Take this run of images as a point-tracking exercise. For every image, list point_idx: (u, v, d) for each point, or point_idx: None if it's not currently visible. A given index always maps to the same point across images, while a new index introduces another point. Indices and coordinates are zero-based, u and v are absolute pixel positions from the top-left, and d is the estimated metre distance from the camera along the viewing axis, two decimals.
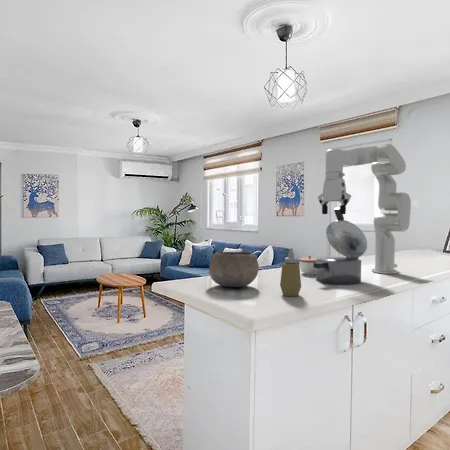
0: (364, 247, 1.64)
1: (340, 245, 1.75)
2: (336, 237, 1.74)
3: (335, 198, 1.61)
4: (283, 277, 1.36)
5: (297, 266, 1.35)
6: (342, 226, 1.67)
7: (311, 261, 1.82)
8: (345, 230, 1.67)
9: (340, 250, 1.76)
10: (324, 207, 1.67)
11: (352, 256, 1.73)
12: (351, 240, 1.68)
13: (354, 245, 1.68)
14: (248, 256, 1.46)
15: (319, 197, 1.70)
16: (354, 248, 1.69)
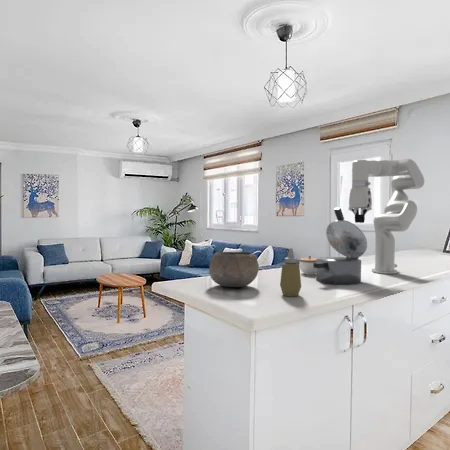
0: (364, 247, 1.64)
1: (340, 245, 1.75)
2: (336, 237, 1.74)
3: (361, 205, 1.74)
4: (283, 277, 1.36)
5: (297, 266, 1.35)
6: (342, 226, 1.67)
7: (311, 261, 1.82)
8: (345, 230, 1.67)
9: (340, 250, 1.76)
10: (357, 216, 1.77)
11: (352, 256, 1.73)
12: (351, 240, 1.68)
13: (354, 245, 1.68)
14: (248, 256, 1.46)
15: (350, 208, 1.81)
16: (354, 248, 1.69)
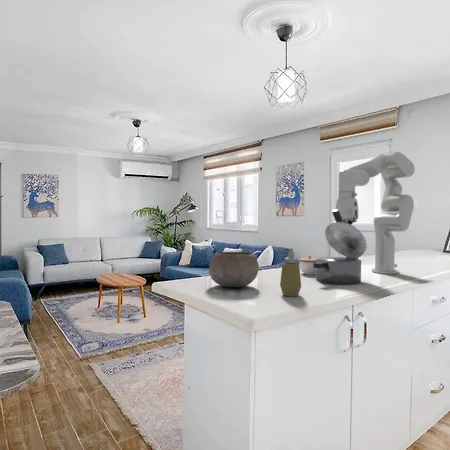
0: (364, 248, 1.64)
1: (340, 246, 1.74)
2: (335, 238, 1.73)
3: (347, 217, 1.67)
4: (283, 277, 1.36)
5: (297, 266, 1.35)
6: (341, 227, 1.67)
7: (311, 261, 1.82)
8: (344, 231, 1.67)
9: (340, 250, 1.76)
10: None
11: (352, 256, 1.73)
12: (350, 241, 1.67)
13: (353, 246, 1.68)
14: (248, 256, 1.46)
15: None
16: (353, 249, 1.69)
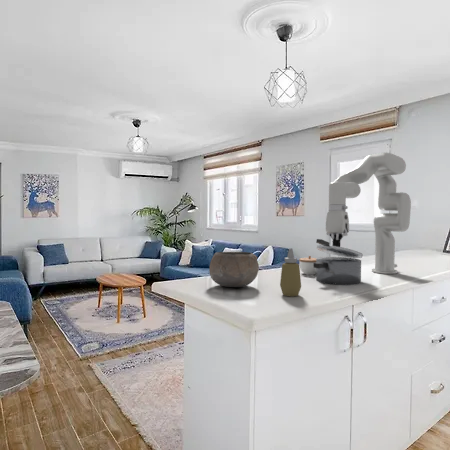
0: (360, 256, 1.63)
1: (336, 253, 1.73)
2: (329, 251, 1.71)
3: (338, 230, 1.63)
4: (283, 277, 1.36)
5: (297, 266, 1.35)
6: (331, 249, 1.63)
7: (311, 261, 1.82)
8: (335, 250, 1.63)
9: (338, 255, 1.75)
10: None
11: (351, 257, 1.73)
12: (345, 253, 1.65)
13: (350, 255, 1.66)
14: (248, 256, 1.46)
15: (328, 233, 1.69)
16: (351, 255, 1.68)
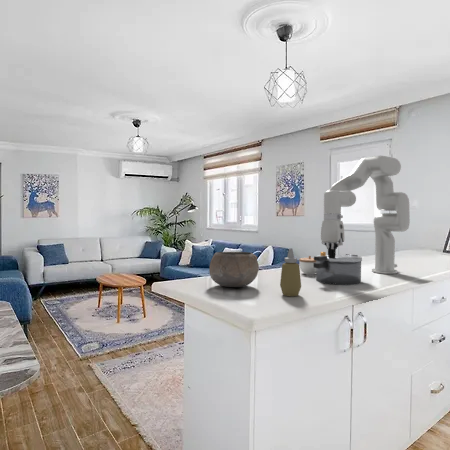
0: (360, 260, 1.63)
1: None
2: None
3: (333, 240, 1.61)
4: (283, 277, 1.36)
5: (297, 266, 1.35)
6: None
7: (311, 261, 1.82)
8: None
9: None
10: None
11: None
12: None
13: None
14: (248, 256, 1.46)
15: (323, 242, 1.67)
16: None
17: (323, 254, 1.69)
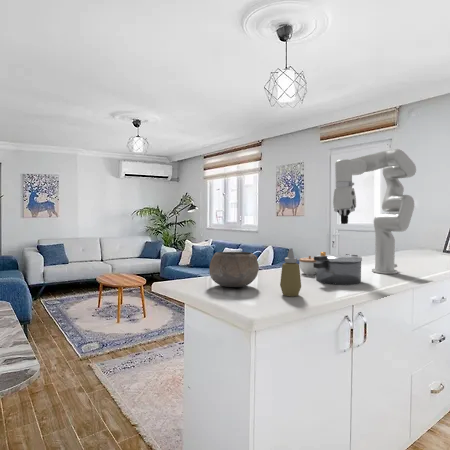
0: (360, 260, 1.63)
1: None
2: None
3: (345, 206, 1.70)
4: (283, 277, 1.36)
5: (297, 266, 1.35)
6: None
7: (311, 261, 1.82)
8: None
9: None
10: None
11: None
12: None
13: None
14: (248, 256, 1.46)
15: (335, 209, 1.76)
16: None
17: (323, 254, 1.69)
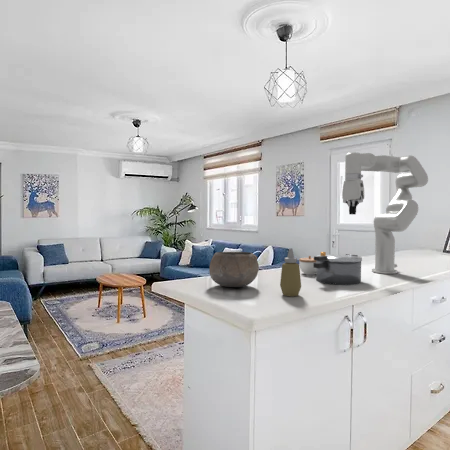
0: (360, 260, 1.63)
1: None
2: None
3: (354, 197, 1.77)
4: (283, 277, 1.36)
5: (297, 266, 1.35)
6: None
7: (311, 261, 1.82)
8: None
9: None
10: None
11: None
12: None
13: None
14: (248, 256, 1.46)
15: (344, 201, 1.83)
16: None
17: (323, 254, 1.69)
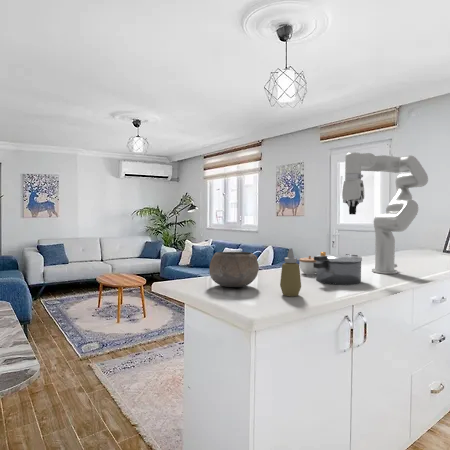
0: (360, 260, 1.63)
1: None
2: None
3: (354, 197, 1.77)
4: (283, 277, 1.36)
5: (297, 266, 1.35)
6: None
7: (311, 261, 1.82)
8: None
9: None
10: None
11: None
12: None
13: None
14: (248, 256, 1.46)
15: (344, 201, 1.83)
16: None
17: (323, 254, 1.69)
